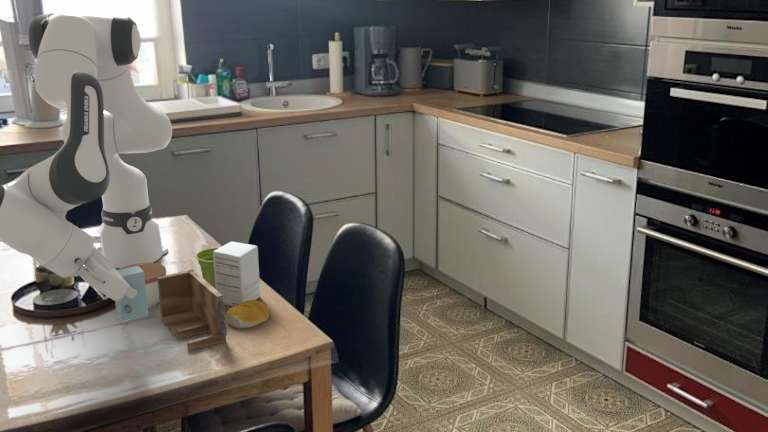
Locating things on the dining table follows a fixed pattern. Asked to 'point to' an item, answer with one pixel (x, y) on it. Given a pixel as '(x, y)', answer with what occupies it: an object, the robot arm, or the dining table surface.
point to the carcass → (192, 308)
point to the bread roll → (247, 314)
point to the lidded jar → (151, 280)
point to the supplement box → (237, 272)
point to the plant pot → (207, 264)
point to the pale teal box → (138, 304)
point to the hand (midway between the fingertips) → (130, 289)
